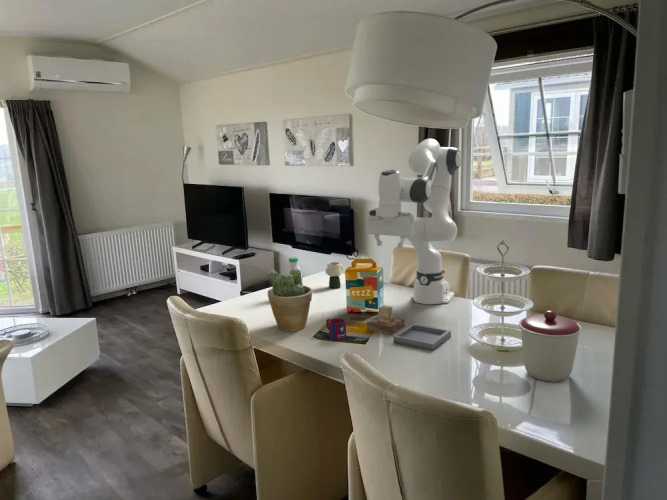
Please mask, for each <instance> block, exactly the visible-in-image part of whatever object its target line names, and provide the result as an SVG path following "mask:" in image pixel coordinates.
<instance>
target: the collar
mask: <svg viewBox="0 0 667 500" xmlns="http://www.w3.org/2000/svg"><path fill="white" fill-rule="evenodd" d="M404 328H406V318H405V317H400V316H398V317H397V316H395V315H393V321H391V322H389V323H385V322H380V321H379V314H378V315H376V316H375V317H373V318H371V319H370V320H368V321H366V330H367V331H368V330H369V331H368V332H373V333H379V334H385V335H388V336H394V334H397V333H398V332H400V330H403V329H404Z"/></svg>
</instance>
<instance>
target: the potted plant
mask: <svg viewBox="0 0 667 500" xmlns="http://www.w3.org/2000/svg"><path fill="white" fill-rule="evenodd" d="M301 272H302V270H301V269H300V270H299V269H297V268H294V269H292V270H291V271H290V274H289V275H288V276H287V275H286V274H285V273H283V272H282V273H278V272H277V270H275V269H271V270H269V271H268V272H266V273H267V274H266V277H267V278H268V280H269V282H270V285H271V288H270V289H268V290H267V298H268V303H269V304H270V307H271V311H272V314H273V317H274V319H275V322H276V324H277V327H278V329H279V330H280V331H285V332H296V331H300V330H302V329H304V328H305V327H306V326H307V322H308V316H309V314H310V313H309V312H310V307H311V306H310V305H311V302H312V299H313V289H312V288H311V287H309V286H308V285H303V284H302V281H303V277H302V278H301Z"/></svg>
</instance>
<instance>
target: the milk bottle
mask: <svg viewBox="0 0 667 500" xmlns="http://www.w3.org/2000/svg"><path fill="white" fill-rule="evenodd" d="M294 268H297V269H299V270H301V267H300V266H299V257H297V256H294V257H292V256H291V257H289V258H288V269H287V271H286V276H288V275H289V274H290V271H291V270H292V269H294ZM301 278H302V279H303V273H302V271H301ZM302 284H303V280H302Z"/></svg>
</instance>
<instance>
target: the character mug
mask: <svg viewBox="0 0 667 500" xmlns="http://www.w3.org/2000/svg"><path fill="white" fill-rule="evenodd" d="M343 268H344V267H343V265H342V263H341V262H340V261H329V262H327V263H326V268H325V275H328V276H329V280H328V281H329V282H328V287H329V288H332V287H333V288H337V287H338V288H340V287H341V286H342V285H341V279H340V276H341V275H342V271H343Z"/></svg>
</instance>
